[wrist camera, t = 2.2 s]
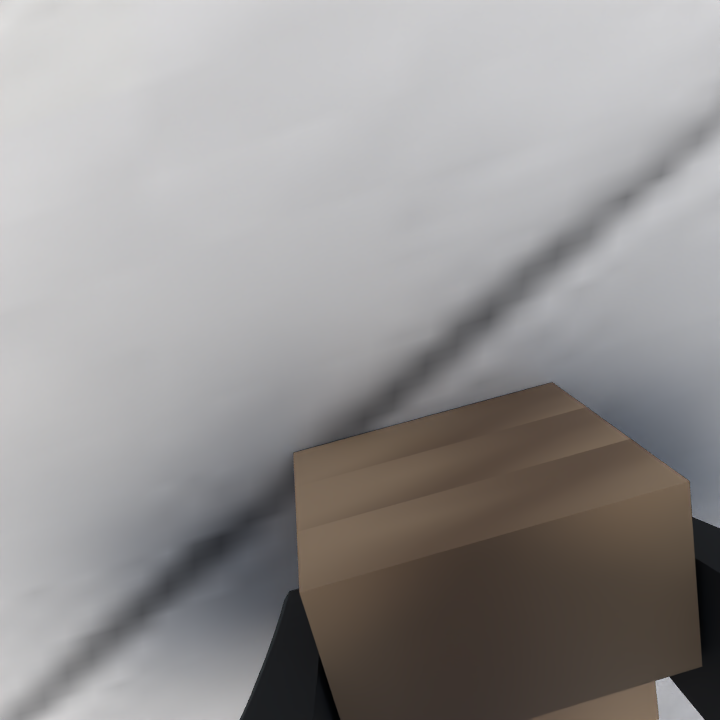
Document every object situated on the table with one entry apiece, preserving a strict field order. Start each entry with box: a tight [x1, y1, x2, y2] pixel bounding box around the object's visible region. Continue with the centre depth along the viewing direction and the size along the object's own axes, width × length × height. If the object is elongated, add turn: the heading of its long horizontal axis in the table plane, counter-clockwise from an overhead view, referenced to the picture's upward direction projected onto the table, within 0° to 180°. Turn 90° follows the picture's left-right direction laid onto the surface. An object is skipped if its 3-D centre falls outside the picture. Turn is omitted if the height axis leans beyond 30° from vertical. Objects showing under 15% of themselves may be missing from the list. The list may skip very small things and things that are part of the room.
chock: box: [293, 382, 702, 720], centre depth 10 cm, size 5×8×4 cm, turn 13°
